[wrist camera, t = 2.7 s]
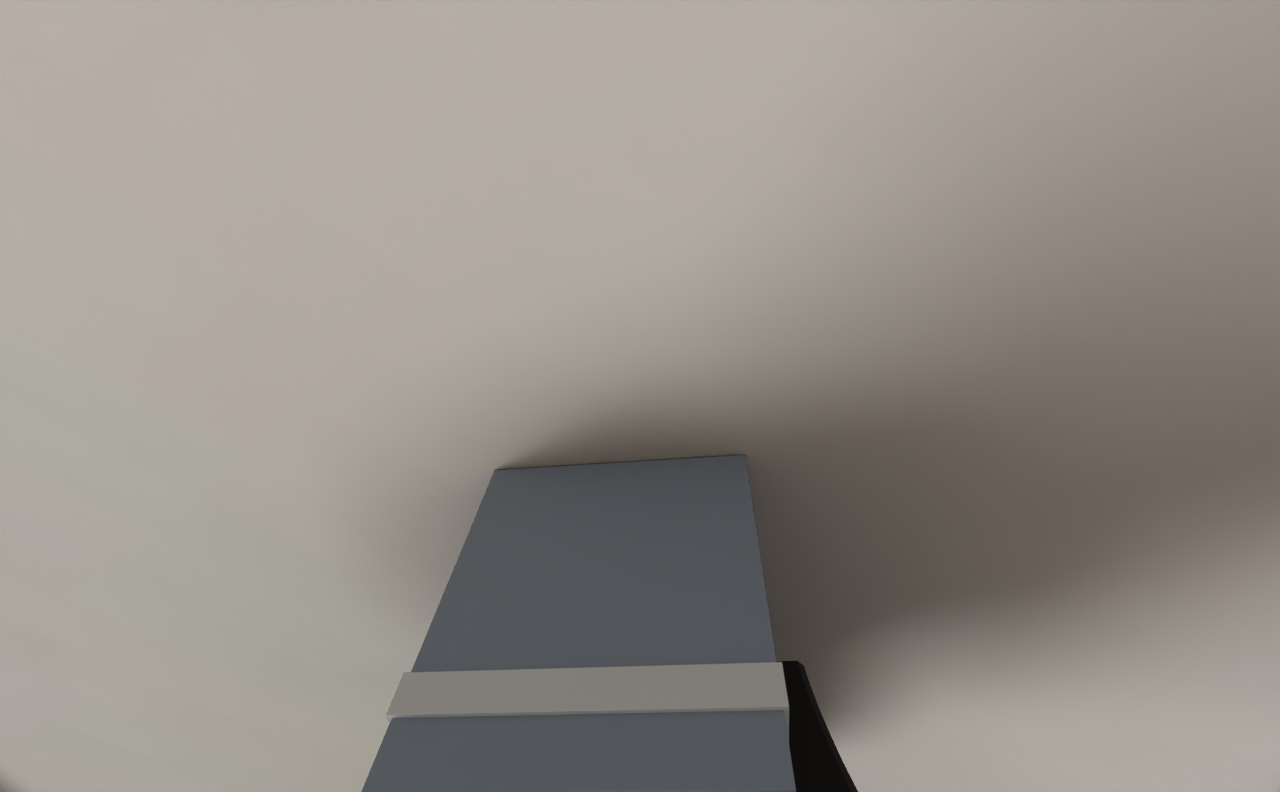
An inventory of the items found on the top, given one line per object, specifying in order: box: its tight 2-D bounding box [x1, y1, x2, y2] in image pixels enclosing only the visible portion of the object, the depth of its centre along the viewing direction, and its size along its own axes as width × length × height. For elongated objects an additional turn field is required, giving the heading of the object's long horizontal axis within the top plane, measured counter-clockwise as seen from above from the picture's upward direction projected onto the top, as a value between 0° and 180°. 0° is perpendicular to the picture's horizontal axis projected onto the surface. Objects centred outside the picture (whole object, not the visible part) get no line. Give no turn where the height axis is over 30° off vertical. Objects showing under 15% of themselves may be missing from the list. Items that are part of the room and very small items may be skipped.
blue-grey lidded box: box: [362, 455, 796, 792], centre depth 10 cm, size 4×8×5 cm, turn 7°
